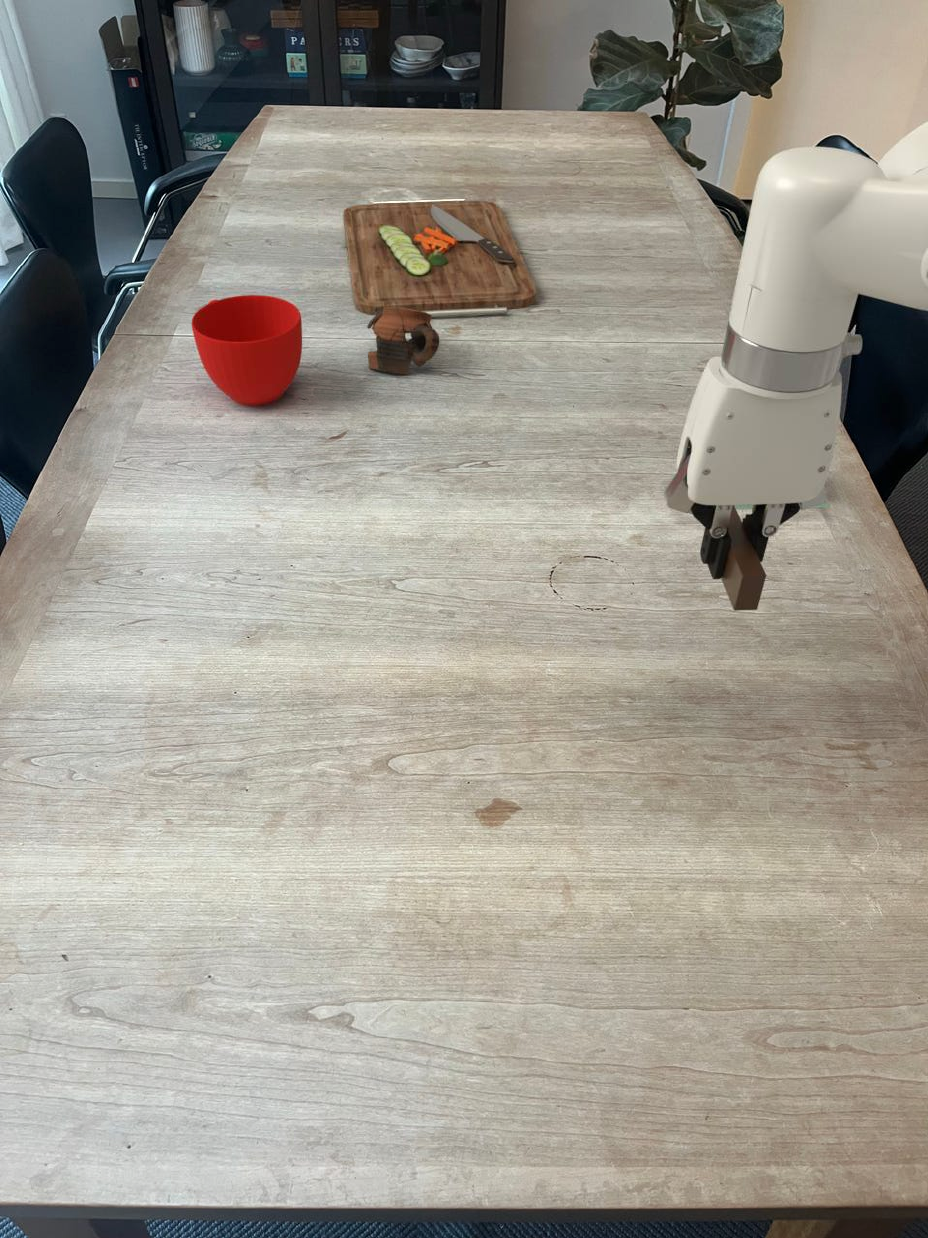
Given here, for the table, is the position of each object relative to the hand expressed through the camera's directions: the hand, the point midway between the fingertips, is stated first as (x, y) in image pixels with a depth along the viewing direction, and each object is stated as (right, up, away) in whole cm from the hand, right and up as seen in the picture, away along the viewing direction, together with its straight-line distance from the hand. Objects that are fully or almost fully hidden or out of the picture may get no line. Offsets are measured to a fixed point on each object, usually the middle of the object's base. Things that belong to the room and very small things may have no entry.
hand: (728, 566), depth 79 cm
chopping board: (-26, +54, +80) cm, 100 cm away
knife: (0, +2, +3) cm, 4 cm away
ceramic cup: (-48, +25, +49) cm, 73 cm away
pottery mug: (-29, +30, +54) cm, 68 cm away
